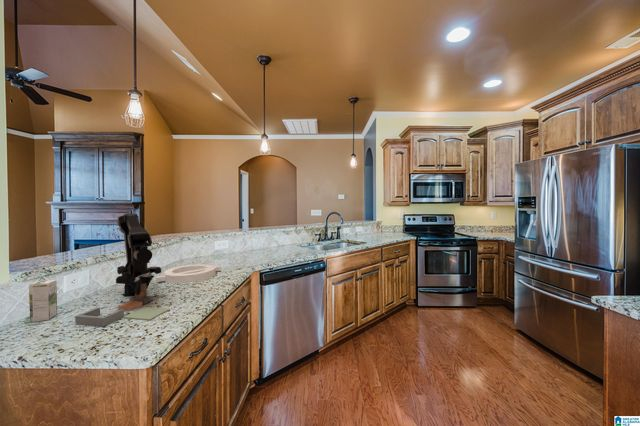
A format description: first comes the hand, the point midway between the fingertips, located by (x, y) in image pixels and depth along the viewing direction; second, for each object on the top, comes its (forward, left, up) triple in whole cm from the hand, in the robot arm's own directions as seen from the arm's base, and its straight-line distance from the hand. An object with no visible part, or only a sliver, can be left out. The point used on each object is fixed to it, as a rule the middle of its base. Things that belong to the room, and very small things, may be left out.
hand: (140, 293), depth 119 cm
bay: (+18, 0, -4) cm, 19 cm away
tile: (+5, 0, -4) cm, 7 cm away
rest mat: (+10, +13, -4) cm, 17 cm away
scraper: (0, 0, -4) cm, 4 cm away
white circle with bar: (-42, -6, -5) cm, 42 cm away
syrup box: (+20, -24, -4) cm, 32 cm away
